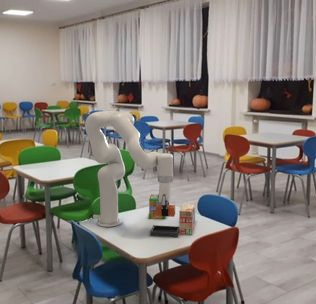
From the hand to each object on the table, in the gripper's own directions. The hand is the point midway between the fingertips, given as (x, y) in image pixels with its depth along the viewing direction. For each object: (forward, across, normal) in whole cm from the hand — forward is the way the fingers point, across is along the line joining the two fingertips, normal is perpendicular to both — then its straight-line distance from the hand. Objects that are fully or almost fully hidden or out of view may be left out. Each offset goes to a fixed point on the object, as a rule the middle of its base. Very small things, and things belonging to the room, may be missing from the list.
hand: (165, 214), depth 209 cm
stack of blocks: (+10, -10, +10) cm, 18 cm away
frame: (+10, 0, 0) cm, 10 cm away
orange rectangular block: (0, 0, 0) cm, 0 cm away
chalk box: (+10, -25, -8) cm, 28 cm away
